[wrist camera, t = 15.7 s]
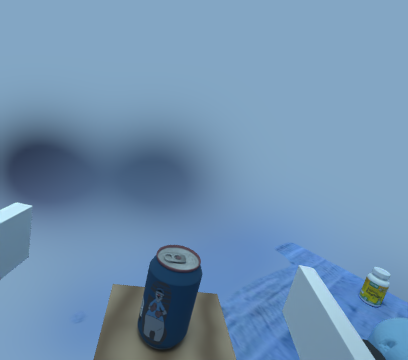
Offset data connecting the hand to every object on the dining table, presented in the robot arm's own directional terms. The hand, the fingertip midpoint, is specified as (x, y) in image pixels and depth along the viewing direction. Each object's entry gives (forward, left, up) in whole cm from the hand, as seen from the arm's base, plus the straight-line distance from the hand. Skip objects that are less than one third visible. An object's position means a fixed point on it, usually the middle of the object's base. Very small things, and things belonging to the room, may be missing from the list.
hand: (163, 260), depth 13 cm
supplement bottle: (-64, -43, -32) cm, 84 cm away
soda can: (-4, -19, -23) cm, 30 cm away
